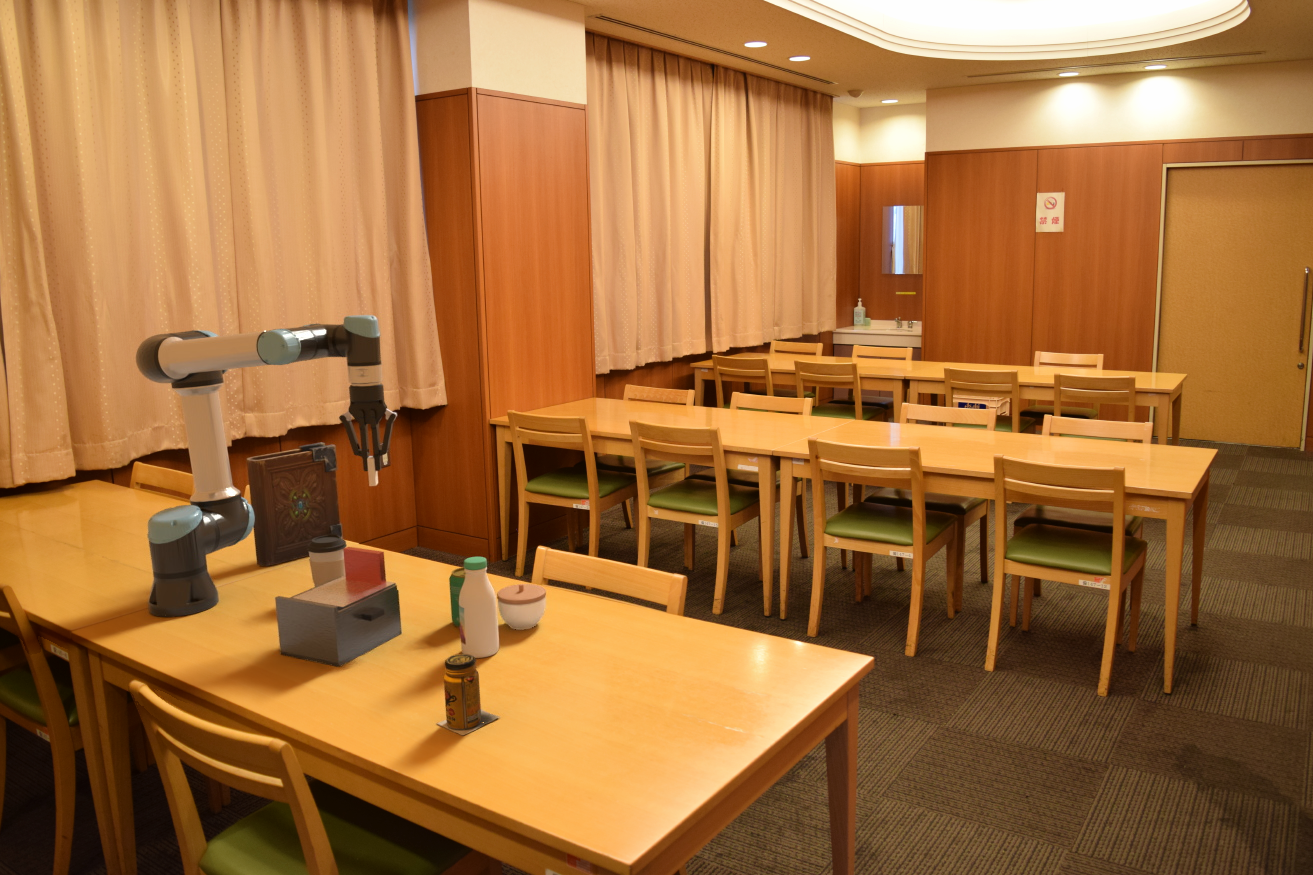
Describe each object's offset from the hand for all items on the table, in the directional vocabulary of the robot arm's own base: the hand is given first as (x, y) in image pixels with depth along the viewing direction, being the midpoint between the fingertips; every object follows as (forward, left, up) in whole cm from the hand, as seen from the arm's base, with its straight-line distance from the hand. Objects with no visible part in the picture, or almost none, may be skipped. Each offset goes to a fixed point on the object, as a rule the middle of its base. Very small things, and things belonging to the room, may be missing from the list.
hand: (373, 484), depth 225 cm
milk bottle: (+26, -31, -30) cm, 50 cm away
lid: (-3, -21, -19) cm, 29 cm away
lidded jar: (+34, -17, -30) cm, 48 cm away
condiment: (+27, -62, -30) cm, 74 cm away
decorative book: (-32, +44, -30) cm, 61 cm away
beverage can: (+22, -14, -30) cm, 39 cm away
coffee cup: (-14, +8, -30) cm, 34 cm away
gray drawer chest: (-4, -23, -29) cm, 38 cm away
